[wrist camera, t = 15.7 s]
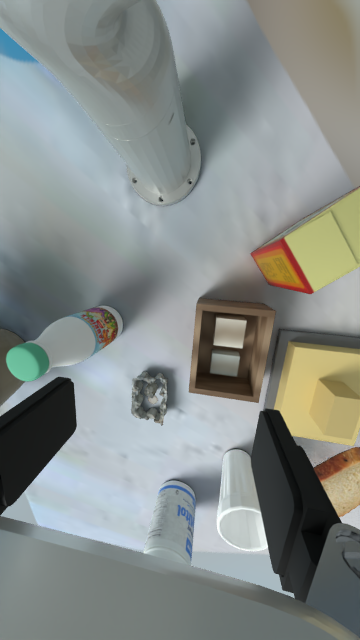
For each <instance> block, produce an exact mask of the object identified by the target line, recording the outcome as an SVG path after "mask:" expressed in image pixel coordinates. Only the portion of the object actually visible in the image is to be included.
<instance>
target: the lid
mask: <svg viewBox="0 0 360 640" xmlns="http://www.w3.org/2000/svg"><path fill="white" fill-rule="evenodd" d="M274 410H279V411H280V413H281V415H282V417H283V419H284V421H285V423H286V425H287V427H288V429H289V431H290V433H291V435H292V436H297V437H303V438H309V439H315V440H321V441H327V442H333V443H339V444H345V445H351V446H354V444H355V441H356V438H357V435H358V432H359V429H360V349H355V348H345V347H336V346H327V345H318V344H309V343H300V342H291V341H288V346H287V351H286V355H285V360H284V365H283V369H282V374H281V379H280V383H279V388H278V393H277V397H276V402H275V406H274Z"/></svg>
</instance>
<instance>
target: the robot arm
mask: <svg viewBox="0 0 360 640" xmlns="http://www.w3.org/2000/svg"><path fill="white" fill-rule="evenodd" d="M0 28H1V29H2V30H3V31H4V32H6V33H7V34H8V35H9V36H10V37H11V38H12V39H13V40H15V41H16V42H17V43H18V44H19V45H20V46H21V47H23V48H24V49H25V50H26V51H27V52H28V53H29V54H31V55H32V56H33V57H34V58H35V59H36V60H38V61H39V62H40V63H41V64H42V65H43V66H44V67H45V68H46V69H47V70H48V71H49V72H50V73H51V74H52V75H53V76H54V77H55V78H56V79H57V80H58V81H59V82H60V83H61V84H62V85H63V86H64V87H65V88H66V90H67V91H68V92H69V93H70V94H71V95H72V96H73V98H74V99H75V100H76V101H77V102H78V104H79V105H80V106H81V107H82V109H83V110H84V111H85V112H86V113H87V115H88V116H89V117H90V119H91V120H92V121H93V122H94V124H95V125H96V126H97V127H98V129H99V130H100V131H101V133H102V134H103V135H104V136H105V138H106V139H107V140H108V141H109V143H110V144H111V145H112V147H113V148H114V149H115V150H116V152H117V153H118V154H119V155H120V157H121V158H122V159H123V161H124V162H125V163H126V165H127V173H128V177H129V180H130V182H131V185H132V186H133V188H134V189H135V191H136V192H137V193H138V194H139V196H141V197H142V198H143V199H144V200H145V201H147V202H149V203H151V204H154V205H157V206H168V205H172V204H175V203H177V202H179V201H181V200H182V199H184V198H185V197H186V196H187V195H188V194H189V193H190V192H191V190H192V189H193V188H194V186H195V184H196V182H197V179H198V176H199V174H200V168H201V153H200V147H199V143H198V140H197V138H196V136H195V134H194V132H193V131H192V129H191V128H190V127H189V126H188V125H187V124H186V122H185V116H184V110H183V104H182V99H181V93H180V87H179V81H178V75H177V69H176V63H175V57H174V51H173V46H172V41H171V37H170V33H169V30H168V27H167V24H166V22H165V19H164V16H163V14H162V12H161V9H160V7H159V6H158V4H157V2H156V0H0ZM192 144H194V145H192ZM136 181H137V182H136ZM135 182H136V183H135ZM190 182H191V183H192V184H189V183H190ZM162 199H163V201H162V202H161V200H162ZM76 426H77V423H76V409H75V394H74V383H73V382H72V381H71V379H70V378H64V377H57V378H55V379H54V380H52V381H51V382H50V383H48V384H47V385H45V386H44V387H42V388H41V389H39V390H38V391H36V392H35V393H34V394H32V395H31V396H29V397H28V398H26V399H25V400H23V401H22V402H20V403H19V404H18V405H16V406H15V407H13V408H12V409H10V410H9V411H7V412H6V413H4V414H3V415H2V416H0V515H1V514H2V513H3V512H4V510H5V509H6V508H7V507H8V506H11V505H12V504H13V503H14V502H15V501H16V500H17V499H18V498H19V497H20V496H21V494H22V493H23V492H24V491H25V490H26V489H27V487H28V486H29V485H30V484H31V483H32V481H33V480H34V479H35V478H36V477H37V476H38V474H39V473H40V472H41V471H42V470H43V469H44V467H45V466H46V465H47V464H48V463H49V461H50V460H51V459H52V458H53V457H54V456H55V454H56V453H57V452H58V451H59V450H60V449H61V447H62V446H63V445H64V444H65V443H66V441H67V440H68V439H69V438H70V437H71V436H72V434H73V433H74V432H75V430H76ZM251 467H252V472H253V477H254V482H255V487H256V492H257V496H258V501H259V506H260V511H261V516H262V520H263V525H264V530H265V535H266V540H267V544H268V549H269V554H270V559H271V564H272V568H273V571H274V573H276V574H279V576H280V581H281V585H282V590H284V591H288V592H291V593H294V596H295V598H292V597H290V596H288V595H285V594H282V593H279V592H276V591H274V590H271V589H268V588H265V587H262V586H259V585H256V584H253V583H249V582H246V581H242V580H239V579H235V578H232V577H229V576H225V575H222V574H218V573H215V572H212V571H208V570H204V569H201V568H197V567H193V566H190V565H186V564H182V563H178V562H175V561H171V560H167V559H163V558H160V557H156V556H152V555H149V554H145V553H141V552H137V551H133V550H130V549H126V548H122V547H118V546H115V545H111V544H107V543H103V542H99V541H95V540H92V539H88V538H84V537H80V536H76V535H72V534H69V533H65V532H61V531H57V530H53V529H49V528H45V527H41V526H37V525H34V524H29V523H26V522H22V521H17V520H14V519H10V518H6V517H1V516H0V640H360V530H359V529H357V528H355V527H353V526H351V525H348V524H343V523H342V522H341V520H340V518H339V516H338V514H337V512H336V511H335V509H334V507H333V505H332V503H331V501H330V499H329V497H328V495H327V493H326V491H325V489H324V488H323V486H322V484H321V482H320V480H319V478H318V476H317V474H316V472H315V470H314V468H313V466H312V465H311V463H310V461H309V459H308V457H307V455H306V453H305V451H304V450H303V448H302V447H300V446H297V445H296V443H295V441H294V439H293V437H292V435H291V433H290V431H289V429H288V427H287V425H286V423H285V421H284V419H283V417H282V415H281V413H280V411H279V410H274V409H268V408H265V410H264V411H260V414H259V419H258V424H257V429H256V435H255V440H254V445H253V450H252V455H251Z"/></svg>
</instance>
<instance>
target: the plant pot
mask: <svg viewBox="0 0 360 640" xmlns="http://www.w3.org/2000/svg"><path fill="white" fill-rule="evenodd" d="M23 343H25V342H24V341H23V340H22V339H21V338H20V337H19V336H18V335H16V334H15V333H13V332H11V331H8V330H5V329H0V406H1V405H2V404H3V403H4V402H5V401H6V400H7V399H8V398H9V397H10V396H11V395H13V394H14V393H15V392H16V391H17V390H18V389H19V388H20V387H21V385H22V384H23V383H24V382H25V381H22V380H20V379H18V378H16V377H15V376H14V375H13V374H12V373H11V372H10V370H9V368H8V366H7V362H6V357H7V353H8V352H9V350H10V349H12V348H13V347H15V346H17V345H20V344H23Z"/></svg>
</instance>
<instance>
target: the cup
mask: <svg viewBox="0 0 360 640" xmlns="http://www.w3.org/2000/svg"><path fill="white" fill-rule="evenodd" d="M217 530H218V532H219V533H220V535H221V537H222V538H223V539H224V540H225V541H226V542H227V543H228V544H230V545H231V546H234V547H236V548H238V549H240V550H246V551H260V550H264V549H266V548H268V544H267V540H266V535H265V530H264V525H263V520H262V516H261V511H260V506H259V501H258V496H257V492H256V487H255V482H254V477H253V472H252V467H251V458H250V456H249V455H248V454H247V453H246V452H244V451H242V450H237V449H234V450H230V451H228V452H227V453H226V454H225V455H224V457H223V467H222V477H221V488H220V498H219V507H218V512H217Z"/></svg>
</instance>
